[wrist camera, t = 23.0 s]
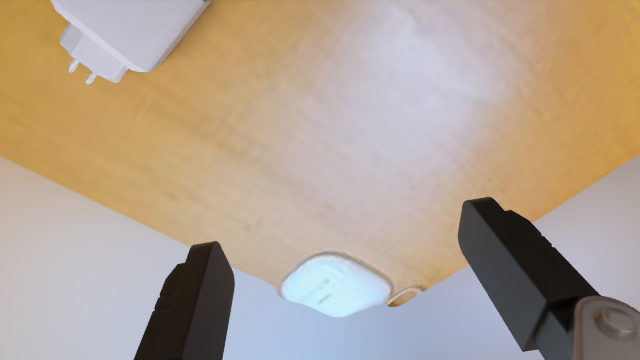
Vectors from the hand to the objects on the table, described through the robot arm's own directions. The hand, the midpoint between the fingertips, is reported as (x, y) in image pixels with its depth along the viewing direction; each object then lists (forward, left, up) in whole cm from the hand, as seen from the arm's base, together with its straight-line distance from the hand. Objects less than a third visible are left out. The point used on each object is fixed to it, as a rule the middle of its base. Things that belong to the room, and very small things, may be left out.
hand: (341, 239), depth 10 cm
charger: (-18, 0, -28) cm, 34 cm away
